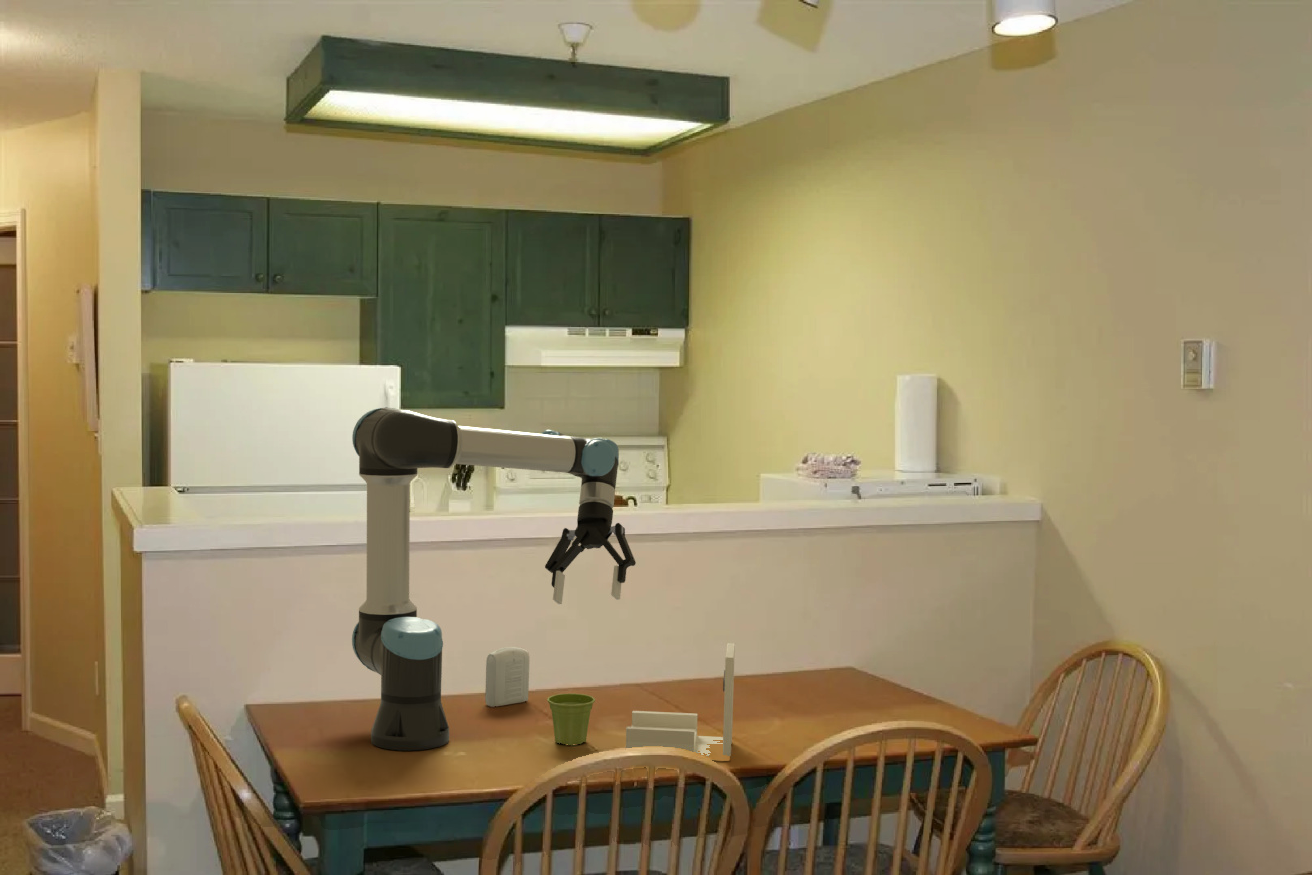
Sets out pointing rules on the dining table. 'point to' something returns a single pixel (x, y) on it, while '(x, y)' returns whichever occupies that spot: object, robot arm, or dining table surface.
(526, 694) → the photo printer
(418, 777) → the dining table surface
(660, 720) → the bracket shelf
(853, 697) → the dining table surface
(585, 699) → the plant pot
